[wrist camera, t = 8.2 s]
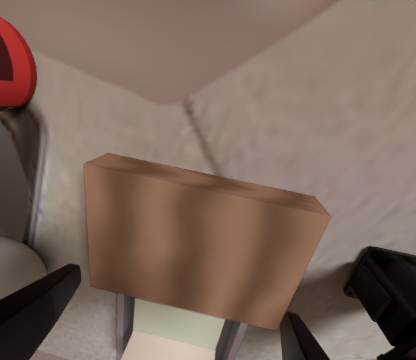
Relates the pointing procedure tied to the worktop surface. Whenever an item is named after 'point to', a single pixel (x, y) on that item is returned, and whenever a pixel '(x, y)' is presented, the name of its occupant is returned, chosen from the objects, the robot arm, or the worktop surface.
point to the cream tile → (163, 349)
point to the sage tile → (177, 323)
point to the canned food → (15, 68)
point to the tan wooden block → (198, 239)
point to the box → (225, 346)
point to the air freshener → (18, 266)
